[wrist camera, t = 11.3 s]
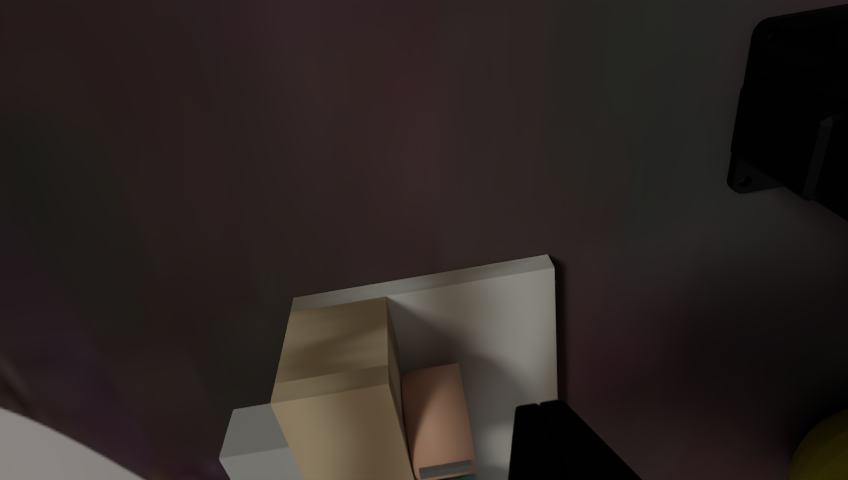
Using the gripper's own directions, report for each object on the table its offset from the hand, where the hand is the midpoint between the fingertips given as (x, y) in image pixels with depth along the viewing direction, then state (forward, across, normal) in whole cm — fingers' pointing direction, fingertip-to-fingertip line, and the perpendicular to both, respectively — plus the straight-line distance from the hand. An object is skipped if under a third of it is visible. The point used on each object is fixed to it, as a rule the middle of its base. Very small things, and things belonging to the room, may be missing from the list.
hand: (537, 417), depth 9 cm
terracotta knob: (+11, +6, +10) cm, 16 cm away
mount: (+12, +2, +14) cm, 19 cm away
